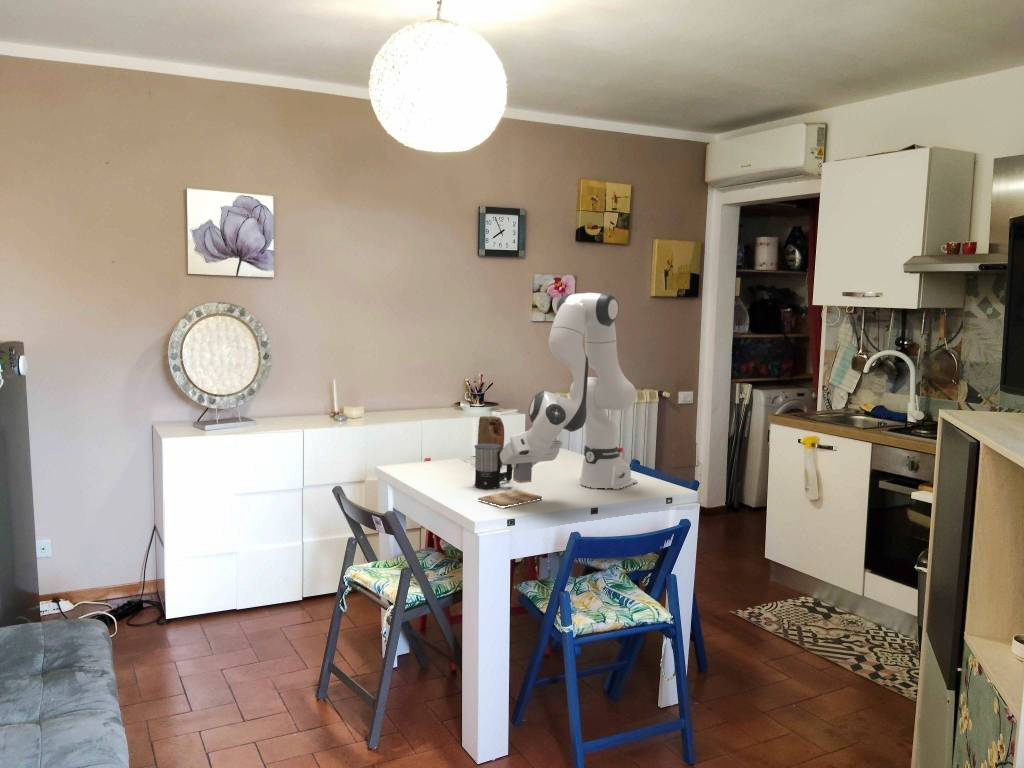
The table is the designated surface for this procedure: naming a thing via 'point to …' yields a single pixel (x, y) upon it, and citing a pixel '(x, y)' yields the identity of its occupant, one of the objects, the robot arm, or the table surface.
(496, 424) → the block
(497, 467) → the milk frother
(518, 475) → the block
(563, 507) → the table surface
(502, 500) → the board
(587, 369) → the robot arm
